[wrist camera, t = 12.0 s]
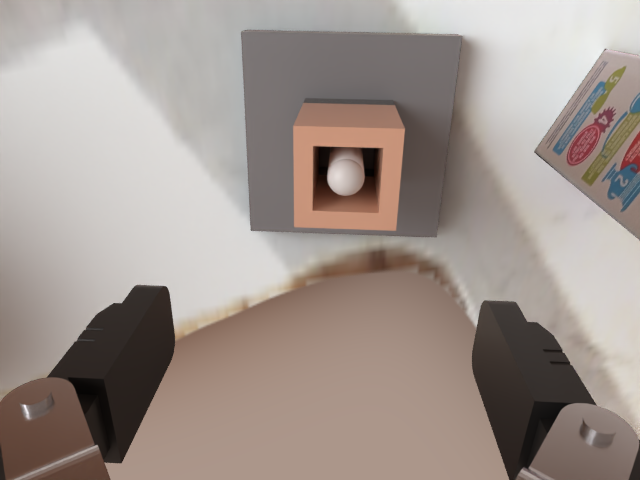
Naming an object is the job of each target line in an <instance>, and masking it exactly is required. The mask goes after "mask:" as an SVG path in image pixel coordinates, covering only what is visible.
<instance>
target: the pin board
mask: <svg viewBox="0 0 640 480" xmlns="http://www.w3.org/2000/svg"><path fill="white" fill-rule="evenodd" d="M241 39H242V60H243V80H244V101H245V122H246V142H247V163H248V184H249V204H250V225H251V231H275V232H302V233H330V234H357V235H385V236H413V237H437V229H438V221H439V213H440V206H441V198H442V190H443V182H444V175H445V167H446V159H447V151H448V143H449V136H450V128H451V120H452V112H453V104H454V97H455V89H456V81H457V73H458V66H459V58H460V50H461V42H462V36H461V35H458V34H419V33H369V32H319V31H269V30H245V31H241ZM305 98H324V99H366V100H393V102H394V104H395V107H396V109H397V111H398V114H399V116H400V118H401V121H402V123H403V125H404V128H405V134H404V146H403V157H402V168H401V180H400V191H399V203H398V214H397V225H396V231H389V230H360V229H331V228H302V227H294V156H293V125H294V123H295V121H296V118H297V116H298V114H299V112H300V109H301V107H302V105H303V102H304V100H305ZM373 155H374V148H364V147H328V146H320V167H328V173H327V181H328V184H329V186H330V188H331V189H332V190H333V191H334V192H335V193H337V194H339V195H342V196H349V195H353V194H355V193H356V192H358V191H359V190H360V189H361V187H362V186H363V183H364V179H365V174H364V169H373Z"/></svg>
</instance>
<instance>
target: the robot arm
mask: <svg viewBox="0 0 640 480" xmlns="http://www.w3.org/2000/svg"><path fill="white" fill-rule="evenodd" d="M174 346H175V333H174V326H173V318H172V310H171V302H170V294H169V290H168V288H167V287H166V286H150V285H136V286H134V288H133V289H132V290H131V292H130V293H129V294H128V296H127V297H126V298H125V300H124V301H123V303H122V304H121V303H113V304H112V305H110V306H109V307H107V308H106V309H104V310H103V311H101V312H100V313H98V314H97V315H96V316H95V317H94V318H93V320H92V321H91V322H90V323H89V325H88V326H87V327H86V330H84V331H83V332H82V334H81V335H80V336H79V337H78V340H77V341H75V342H74V344H73V345H72V346H71V347H70V349H69V350H68V351H67V353H66V354H65V355H64V356H63V358H62V359H61V360H60V361H59V363H58V364H57V365H56V366H55V368H54V369H53V370H52V372H51V373H50V374H49V375H48V377H47V378H42V379H37V380H34V381H30V382H28V383H25V384H23V385H21V386H19V387H17V388H16V389H14V390H13V391H11V392H10V393H9V394H7V395H6V396H5V397H4V398H3V399H2V401H1V402H0V480H110V477H109V474H108V472H107V469H106V466H105V464H104V462H106V463H107V462H108V463H122V461H123V459H124V457H125V455H126V453H127V451H128V449H129V447H130V445H131V443H132V441H133V439H134V436H135V434H136V432H137V430H138V428H139V426H140V424H141V422H142V420H143V418H144V415H145V414H146V411H147V410H148V407H149V405H150V403H151V401H152V399H153V397H154V395H155V393H156V391H157V389H158V387H159V385H160V383H161V381H162V378H163V376H164V374H165V372H166V370H167V368H168V366H169V364H170V362H171V360H172V356H173V353H174ZM562 351H563V350H562V348H561V347H560V345H559V344H558V342H557V340H556V339H555V337H554V336H553V335H552V334H551V333H550V332H548V331H547V330H546V329H545V328H543V327H542V326H541V325H540V324H538V323H537V322H527V321H526V319H525V317H524V315H523V313H522V312H521V310H520V308H519V306H518V305H517V303H516V302H509V301H483V303H482V305H481V309H480V314H479V319H478V324H477V329H476V335H475V341H474V345H473V351H472V368H473V374H474V377H475V380H476V383H477V386H478V389H479V392H480V395H481V398H482V401H483V404H484V407H485V409H486V412H487V415H488V418H489V421H490V424H491V427H492V430H493V433H494V436H495V439H496V442H497V445H498V448H499V450H500V453H501V456H502V459H503V462H504V465H505V468H506V471H507V474H508V477H509V480H640V440H639V439H638V437H637V434H636V433H635V431H634V430H633V428H632V427H631V426H630V425H629V424H628V423H627V422H626V421H625V420H624V419H622V418H621V417H620V416H618V415H616V414H615V413H613V412H611V411H609V410H607V409H605V408H602V407H599V406H597V405H596V403H595V402H594V400H593V399H592V397H591V395H590V394H589V392H588V391H587V389H586V387H585V386H584V384H583V382H582V381H581V379H580V378H579V376H578V374H577V373H576V371H575V370H574V368H573V366H572V365H570V361H569V360H568V358H567V357H566V355H565V353H563V352H562Z"/></svg>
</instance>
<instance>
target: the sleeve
mask: <svg viewBox="0 0 640 480" xmlns="http://www.w3.org/2000/svg"><path fill="white" fill-rule="evenodd" d="M404 134H405V128H404V125H403V123H402V121H401V118H400V116H399V114H398V111H397V109H396V107H395V104H394V102H393V100H366V99H324V98H305V100H304V102H303V105H302V107H301V109H300V112H299V114H298V116H297V118H296V121H295V123H294V125H293V156H294V227H302V228H331V229H360V230H389V231H396V225H397V214H398V203H399V191H400V180H401V168H402V157H403V146H404ZM320 146H328V147H364V148H374V155H373V169H364V174H365V179H364V183H363V186H362V187H361V189H360V190H359V191H358V192H356V193H355V194H353V195H349V196H342V195H339V194H337V193H335V192H334V191H333V190H332V189H331V188H330V186H329V184H328V181H327V173H328V167H320Z"/></svg>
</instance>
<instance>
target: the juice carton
mask: <svg viewBox="0 0 640 480" xmlns="http://www.w3.org/2000/svg"><path fill="white" fill-rule="evenodd" d="M534 152H535V153H536V154H537V155H538V156H539V157H541V158H542V159H543V160H544V161H545V162H546V163H548V164H549V165H550V166H551V167H552V168H554V169H555V170H556V171H557V172H558V173H560V174H561V175H562V176H563V177H564V178H566V179H567V180H568V181H569V182H570V183H572V184H573V185H574V186H575V187H576V188H578V189H579V190H580V191H581V192H582V193H584V194H585V195H586V196H587V197H588V198H590V199H591V200H592V201H593V202H594V203H596V204H597V205H598V206H599V207H600V208H602V209H603V210H604V211H605V212H606V213H608V214H609V215H610V216H611V217H612V218H614V219H615V220H616V221H617V222H618V223H620V224H621V225H622V226H623V227H624V228H626V229H627V230H628V231H629V232H630V233H632V234H633V235H634V236H635V237H636V238H638V239H639V240H640V56H638V55H633V54H628V53H623V52H618V51H613V50H608V49H605V50H604V51H603V53H602V54H601V56H600V57H599V59H598V60H597V61H596V63H595V64H594V66H593V67H592V69H591V70H590V72H589V73H588V75H587V76H586V77H585V79H584V80H583V82H582V83H581V85H580V86H579V88H578V89H577V90H576V92H575V93H574V95H573V96H572V98H571V99H570V101H569V102H568V104H567V105H566V106H565V108H564V109H563V111H562V112H561V114H560V115H559V117H558V118H557V119H556V121H555V122H554V124H553V125H552V127H551V128H550V130H549V131H548V133H547V134H546V135H545V137H544V138H543V140H542V141H541V143H540V144H539V146H538V147H537V148H536V150H535V151H534Z"/></svg>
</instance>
